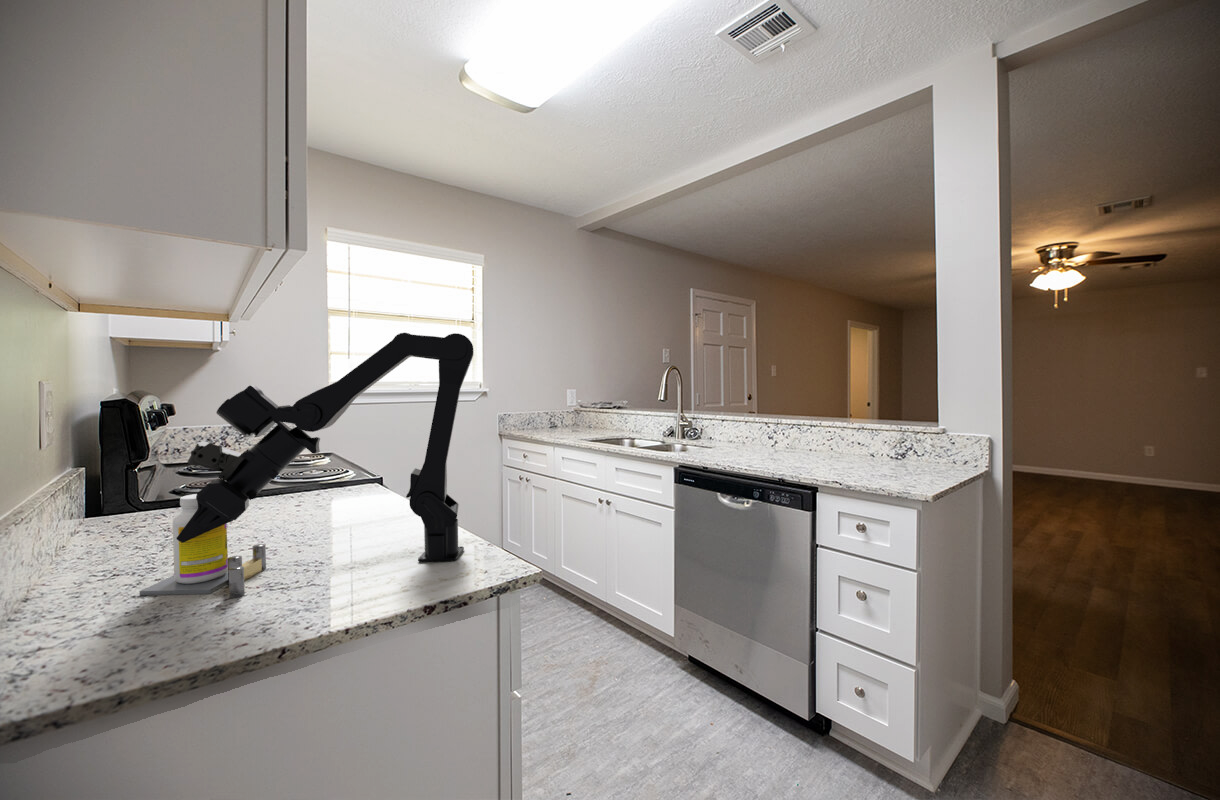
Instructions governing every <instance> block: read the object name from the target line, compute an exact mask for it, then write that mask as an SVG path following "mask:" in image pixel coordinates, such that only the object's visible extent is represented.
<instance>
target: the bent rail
mask: <svg viewBox="0 0 1220 800" xmlns="http://www.w3.org/2000/svg"><path fill="white" fill-rule="evenodd" d="M266 552H267V550H266V544H265V543H257V544H254V545H252V558H251V559H250V560H248V561H246V562H244V563H243V557H242V555H233V556H228V584H227V585H228V588H229V597H228V598H230V599H239V598H241V597H243V596H245V594H246V593H245V581H246V580H248V579H250V578H252V577H253V576H254V575H256V574H258V573H260V572H262V571H264V570H266V569H267V553H266Z"/></svg>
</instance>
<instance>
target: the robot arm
mask: <svg viewBox="0 0 1220 800" xmlns="http://www.w3.org/2000/svg"><path fill="white" fill-rule="evenodd" d="M412 357H413V358H422V359H429V360H430V359H431V360H437V361H438V378H439V379H438V390H437V394H436V401H435V404H434V405H435V406H434V411H433V416H432V420H431V426H430V430H429V436H428V442H427V445H426V446H427V447H426V452H425V458H424V462H423V464H422V468H421V469H419V468H414V469H413V470H412V472H411V473H410V477H409V478H410V480H409V481H410V486H409V490H408V492H407V494H406V496H405V498H407V499H408V498H409V507H410V509H411V510H412V513H414V514H415V515H416V516H418V517H420V518H421V521H422V523H423V527H424V528H423V530H424V532H423V533H424V534H423V535H424V539H423V540H424V551H423V552H422V553H421V555H420V556H419V557H418V558H417V561H418V562H443V561H446V562H451V561H456V560H457V559H458V558H459V557H460V555H461V554H462V553H463V552H464V550H465V547H464V546H459V520H458V519H459V518H458V513H459V512H458V511H459V506H460V504H459V503H458V502H457V501H456V500H455V499H453V498H452V497H451V496H450V495H449V494H448V492H447V491H448V489H447V488H448V478H447V477H448V474H447V473H448V472H447V470H448V469H447V465H448V464H447V461H448V457H449V450H450V445H451V442H452V441H451V440H452V435H453V430H454V423H455V419H456V415H457V414H456V413H457V408H458V402H459V397H460V394H461V393H460V392H461V388H462V385H463V384H464V380H465V377H466V376H467V373H468V371H469V368H470V366H471V363H472V361H473V358H474V345H473V343H472V341H471V339H470V338H468V337H467V336H466V335H464V334H461V333H450V334H447V335H446V336H445V337H441V336H440V337H439V336H434V335H422V334H421V335H419V334H411V333H408V332H400V333H398V334H396V335H395V336H394V337H393V339H391V341H389V342H388V343H386V345H384V346H383V347H381V348H380V349H379V350H377V351H376V352H374V353H373V354H372V355H371V356H369V357H368V358H367V359H365V360H364V361H363V362H362V363H360V364H358V365H357V366H356V367H355V368H353V369H352V370H351V371H350V372H348V373H347V374H345V375H344V376H343V377H342V378H340V379H339V380H337V381H335V382H333V383H331V384H329V385H326V386H325V387H322V388H320V389H318V390H315V391H313V392H312V393H311V392H310V394H308V395H306V396H304V397H302V398H299V399H297V401H296V402H295V403H294V404H293V405H290V404H285V405H278V404H276V402H274V401H273V400H272V399H270V398H269V397H268V396H267V395H266V394H265V393H264V391H263V390H261V389H260V388H259V387H258V386H257V385H248V386H247V387H246V388H244V389H243V390H242V391H239V392H238V393H236V394H234V395H233V396H232V397H230V398H227V399H226V400H225V401H223V403H222V404H221V405H220V406H219V407H218V408H217V410H216V415H217V416H219V418H222V420H223V421H225V422H226V423H227V424H229V425H230V426H231V427H232V428H234V429H235V430H236V431H238V432H239V433H240V434H241V435H243V436H244V437H245V438H249V437H252V436H253V435H254V436H255V437H256V438H260V437H261V436H263V435H264V436H263V437H262V438H261V439H260V440H259V441H258V442H256V443H255V444H254V446H252V447H251V448H247V449H246V450H245V451H243V452H242V453H240V452H238V451H235V450H232V449H229V448H226V447H223V446H222V445H221V444H220V445H219V444H218V445H216V444H214V442H208V441H200V442H197V443H196V445H195V447H194V449H193V450H192V451H191V452H190V456H189V458H188V460H187V461H186V462H187V464H189V465H192V466H194V467H202V468H205V469H206V468H207V469H210V470H212V471H216V472H220V473H219V474H218V475H217V476H218V478H217V479H213V480H211V481H210V482H208V483H207V484H206V485H205V486H204V487H202V489H201V490H199V491H198V492H197V493H196V494H197V496H196V500H197V503H198V509H197V511H196V512H195V514H194V515H193V516H192V518H191V519H190V520H189V522H188V523H187V524H186V526H185V527H184V528H183V530H182V531H181V533H180V534H179V535H178V537H177V540H178V541H180V542H182V543H184V542H186V541H188V540H190V539H193V538H195V537H197V536H199V535H201V534H204V533H206V532H208V531H210V530H213V529H215V528H217V527H220V526H222V525H224V524H226V523H227V524H229V523H231V522H233V521H237V519H238V518H239V517H241V515H243V514H244V512H246V510H248V507H250V501H251V500H253V499H255V498H256V496H258V494H259V493H260V492H261V491H262V490H263V489H264V488H265V487H267V485H269V483H271V482H272V481H273V480H275V479H276V478H277V477H278V476H279V475H280V474H281V472H282V471H284V470H285V469H286V468H287V467H288V466H289V465H290V464H291V463H292V462H293V461H294V460H295V459H296V458H297V457H298V456H299V455H300V454H302V452H304V450H306V449H307V450H308V451H309V453H311V454H319V453H320V451H321V450H320V442H321V441H320V440H321V438H320V437H319V436H316V437H312V436H310V435H309V434H308V433H307V432H309V433H313V432H318V431H321V430H325V429H328V428H329V427H332V426H333V425H334V424H335V423H336V422H338V420H339V419H340V417H342V416H343V414H344V413H346V411H347V410H348V409H349V407H350V406H351V404H352V403H353V402H355V400H356V399H357V398H358V397H359V396H360V395H362V394H363V393H364V392H366V391H367V390H369V389H370V388H371V387H372V386H374V384H376V383H378V382H379V381H380V380H382V378H384V377H385V376H387V375H388V374H389V373H391V372H392V371H393V370H394V369H396V368H398V367H399V366H400V365H401V364H403V363H404V362H406V360H408V359H409V358H412ZM287 424H293V425H295V427H293V428H291V427H290V426H288V425H287ZM275 425H276V426H275ZM272 427H273V428H272ZM270 429H271V430H270ZM269 430H270V431H269ZM268 431H269V432H268ZM267 432H268V433H267ZM461 552H462V553H461Z"/></svg>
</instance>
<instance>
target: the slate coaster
mask: <svg viewBox="0 0 1220 800" xmlns="http://www.w3.org/2000/svg"><path fill="white" fill-rule="evenodd" d="M226 585H228V571H227V572H226V573H225V574H224V575H223V576H221V577H218V578H216V579H213V580H209V581H205V582H200V583H193V584H182V583H178V582H176V581H175V578H174V574H173V575H171V576H170V577H168V578H164V579H163V580H161V581H158V582H157V583H154V584H152V585H150V586H148V587H145V588H143V589H141V590H139V593H138V594H139V596H162V595H163V596H164V595H165V596H167V595H168V594H169V596H170V594H171V595H203V594H204V595H205V594H208V595H210V594H212V593H214V592H216V591H218V590H220V589H221V588H223V587H224V586H226ZM217 589H218V590H217Z"/></svg>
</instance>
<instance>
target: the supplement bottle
mask: <svg viewBox="0 0 1220 800" xmlns="http://www.w3.org/2000/svg"><path fill="white" fill-rule="evenodd" d="M196 496H197V493H193V494H187V495H184V496H181V497H180V498H179V506H180V507H181V512H180V513H178V514H176V516H174V517H173V519H172V544H173V546H172V547H173V550H172V552H173V575H174V578H175V581H176V582H178V583H182V584H193V583H200V582H205V581H209V580H213V579H216V578H218V577H221V576H223V575H224V574H225V573H226V572H227V571H228V558H229V553H228V551H229V550H228V528H227V524H228V523H226V524H224V525H222V526H220V527H217V528H215V529H213V530H210V531H208V532H206V533H204V534H201V535H199V536H197V537H195V538H193V539H190V540H188V541H186V542H184V543H182V542H180V541H178V540H177V537H178V535H179V534H180V533H181V531H182V530H183V528H184V527H185V526H186V524H187V523H188V522H189V520H190V519H191V518H192V516H193V515H194V514H195V512H196V511H197V509H198V503H197V500H196Z"/></svg>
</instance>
